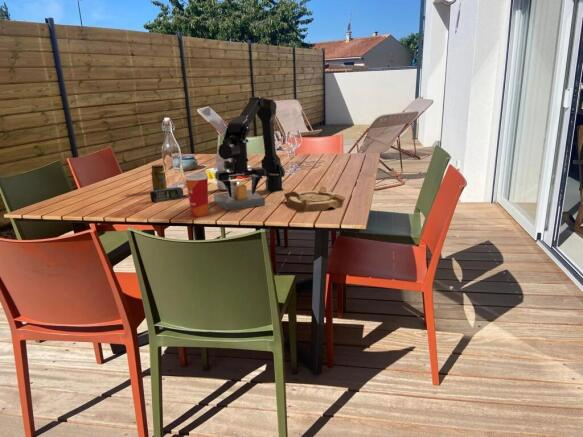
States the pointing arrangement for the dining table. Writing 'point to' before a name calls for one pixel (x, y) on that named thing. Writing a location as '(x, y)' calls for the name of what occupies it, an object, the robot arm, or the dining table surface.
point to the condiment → (158, 177)
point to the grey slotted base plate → (233, 203)
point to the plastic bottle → (221, 168)
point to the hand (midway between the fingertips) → (241, 195)
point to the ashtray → (314, 200)
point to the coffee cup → (198, 193)
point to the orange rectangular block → (241, 192)
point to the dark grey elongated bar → (166, 194)
